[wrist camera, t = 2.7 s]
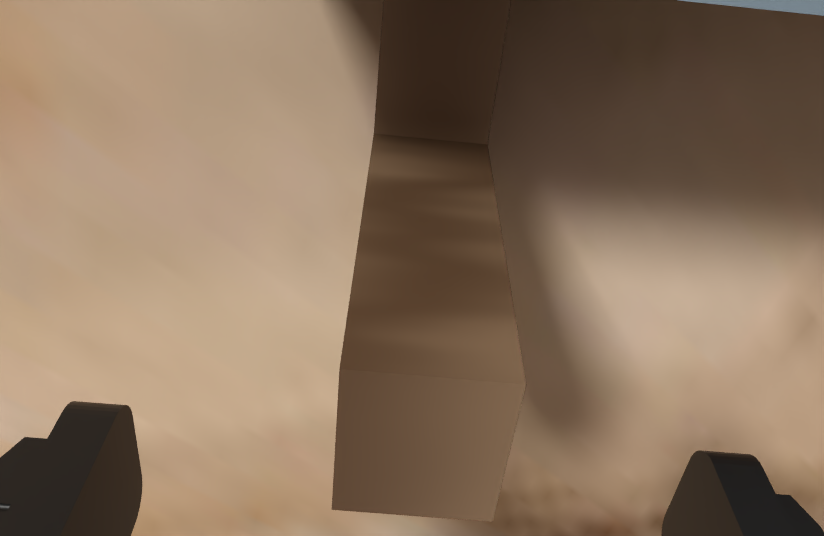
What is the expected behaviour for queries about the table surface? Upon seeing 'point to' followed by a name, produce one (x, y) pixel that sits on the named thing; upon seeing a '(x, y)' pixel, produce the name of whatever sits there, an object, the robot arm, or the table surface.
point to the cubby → (774, 5)
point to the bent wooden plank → (430, 280)
